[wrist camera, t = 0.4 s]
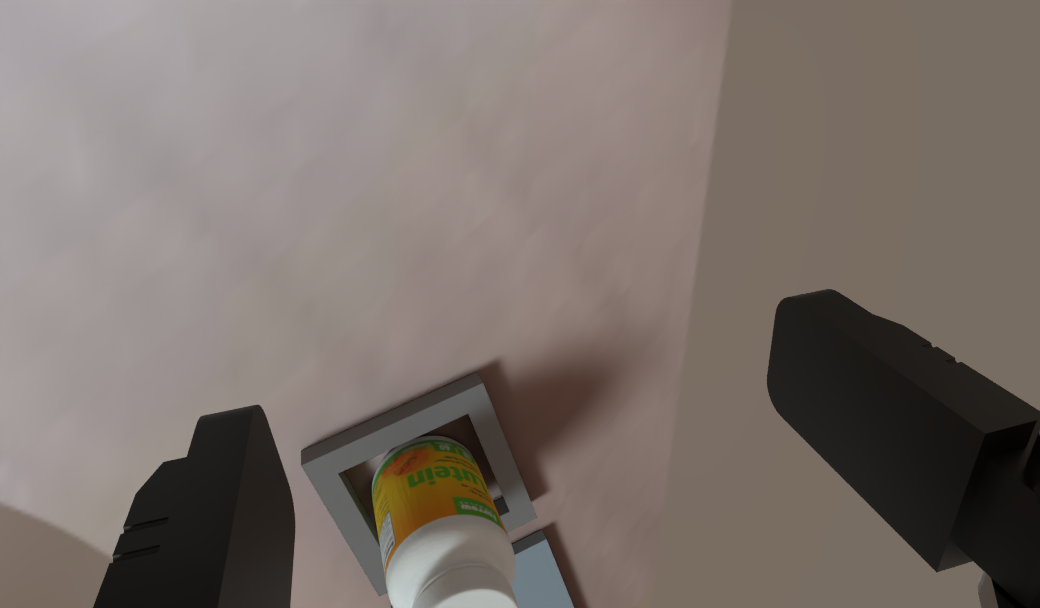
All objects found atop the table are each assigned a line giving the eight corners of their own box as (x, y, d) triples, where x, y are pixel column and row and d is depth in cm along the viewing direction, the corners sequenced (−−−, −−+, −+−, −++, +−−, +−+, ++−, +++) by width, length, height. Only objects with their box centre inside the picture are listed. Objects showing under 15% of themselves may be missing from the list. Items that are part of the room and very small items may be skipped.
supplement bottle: (484, 431, 32) (551, 566, 24) (468, 520, 34) (525, 677, 25) (376, 432, 31) (406, 579, 22) (364, 526, 32) (389, 698, 24)
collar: (301, 450, 30) (301, 465, 29) (476, 371, 31) (483, 382, 30) (376, 579, 34) (379, 596, 32) (530, 503, 35) (537, 517, 34)
